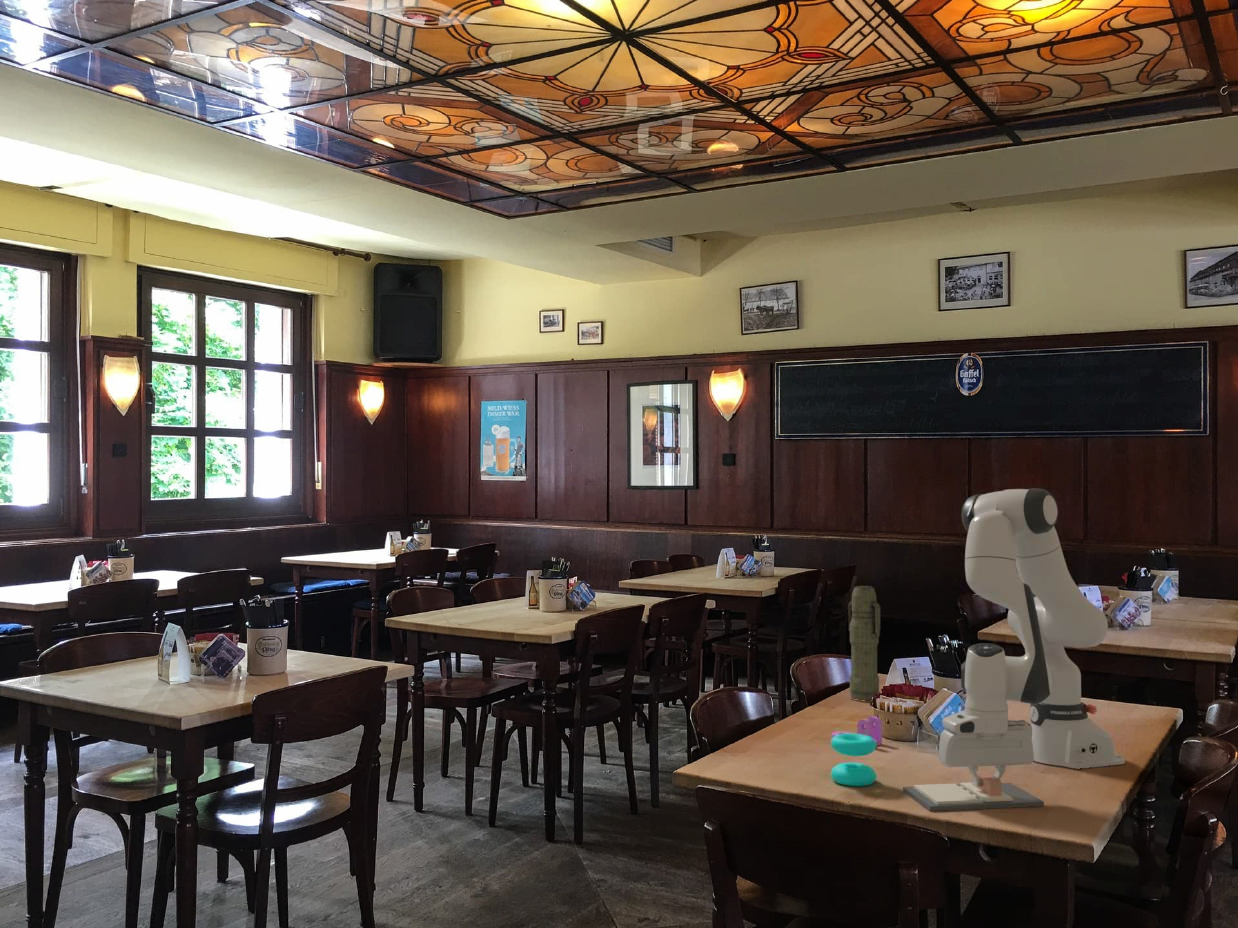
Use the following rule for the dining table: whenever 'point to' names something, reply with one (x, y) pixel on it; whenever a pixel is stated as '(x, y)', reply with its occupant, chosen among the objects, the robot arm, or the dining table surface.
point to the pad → (966, 797)
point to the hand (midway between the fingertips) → (986, 785)
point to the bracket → (868, 729)
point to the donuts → (853, 771)
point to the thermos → (864, 642)
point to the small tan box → (987, 788)
